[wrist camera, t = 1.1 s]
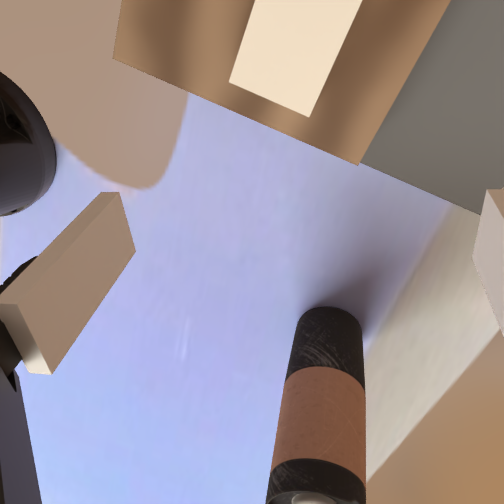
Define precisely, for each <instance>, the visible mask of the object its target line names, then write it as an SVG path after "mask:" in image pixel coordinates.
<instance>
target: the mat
mask: <svg viewBox="0 0 504 504" xmlns="http://www.w3.org/2000/svg"><path fill="white" fill-rule="evenodd" d="M360 163H363V164H365V165H367V166H369V167H372V168H374V169H376V170H379V171H381V172H383V173H385V174H388V175H390V176H392V177H394V178H397V179H399V180H401V181H404V182H406V183H408V184H410V185H413V186H415V187H417V188H420V189H422V190H424V191H426V192H429V193H431V194H433V195H436V196H438V197H440V198H442V199H445V200H447V201H449V202H452V203H454V204H456V205H458V206H461V207H463V208H465V209H468V210H470V211H472V212H474V213H477V214H479V215H481V213H482V209H483V204H484V199H485V195H486V190H487V189H502V188H503V186H504V0H451V1H450V3H449V5H448V6H447V8H446V10H445V12H444V14H443V15H442V17H441V19H440V21H439V22H438V24H437V26H436V28H435V30H434V31H433V33H432V35H431V37H430V38H429V40H428V42H427V44H426V46H425V47H424V49H423V51H422V53H421V54H420V56H419V58H418V60H417V62H416V63H415V65H414V67H413V69H412V70H411V72H410V74H409V76H408V78H407V79H406V81H405V83H404V85H403V86H402V88H401V90H400V92H399V93H398V95H397V97H396V99H395V101H394V102H393V104H392V106H391V108H390V109H389V111H388V113H387V115H386V117H385V118H384V120H383V122H382V124H381V125H380V127H379V129H378V131H377V133H376V134H375V136H374V138H373V140H372V141H371V143H370V145H369V147H368V149H367V150H366V152H365V154H364V156H363V157H362V159H361V161H360Z"/></svg>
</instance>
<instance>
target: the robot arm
mask: <svg viewBox="0 0 504 504" xmlns="http://www.w3.org/2000/svg"><path fill="white" fill-rule="evenodd" d="M55 168H56V157H55V149H54V145H53V141H52V138H51V135H50V132H49V130H48V127H47V125H46V123H45V121H44V119H43V117H42V116H41V114H40V112H39V111H38V109H37V108H36V106H35V105H34V104H33V102H32V101H31V100H30V99H29V97H28V96H27V95H26V94H25V93H24V92H23V90H22V89H21V88H19V87H18V86H17V85H16V84H15V83H14V82H13V81H12V80H11V79H9V78H8V77H7V76H6V75H4V74H2V73H1V72H0V216H7V215H12V214H15V213H18V212H21V211H22V210H24V209H26V208H28V207H29V206H31V205H32V204H33V203H34V202H36V201H37V200H38V199H40V198H41V197H42V196H43V195H44V194H45V193H46V192H47V191H48V189H49V187H50V186H51V184H52V181H53V178H54V175H55ZM135 252H136V250H135V246H134V243H133V239H132V236H131V232H130V229H129V225H128V222H127V218H126V215H125V211H124V207H123V204H122V200H121V197H120V193H119V192H101V193H100V194H99V195H98V196H97V197H96V198H95V199H94V200H93V201H92V202H91V203H90V204H89V205H88V206H87V207H86V208H85V209H84V210H83V211H82V212H81V213H80V214H79V215H78V216H77V217H76V218H75V219H74V220H73V221H72V222H71V223H70V224H69V225H68V226H67V227H66V228H65V229H64V230H63V231H62V232H61V233H60V234H59V235H58V236H57V237H56V238H55V239H54V241H53V242H52V243H51V244H50V245H49V246H48V247H47V248H46V249H45V250H44V251H43V252H42V253H41V254H40V255H39V256H35V257H33V258H32V259H30V260H28V261H27V262H25V263H23V264H22V265H21V266H20V267H18V268H17V269H16V270H15V271H14V272H13V273H12V274H11V277H8V278H7V279H6V280H5V281H4V282H3V285H0V504H42V501H41V496H40V490H39V485H38V479H37V474H36V468H35V463H34V457H33V452H32V446H31V441H30V436H29V430H28V425H27V419H26V414H25V408H24V403H23V397H22V392H21V386H20V381H19V376H18V375H17V373H16V371H15V367H16V366H17V365H18V363H19V362H20V361H21V360H23V362H24V364H25V366H26V368H27V370H28V372H29V373H37V374H49V375H52V374H53V372H54V371H55V369H56V368H57V366H58V365H59V364H60V362H61V361H62V359H63V358H64V356H65V355H66V353H67V352H68V350H69V349H70V347H71V346H72V344H73V343H74V342H75V340H76V339H77V337H78V336H79V334H80V333H81V331H82V330H83V328H84V327H85V325H86V324H87V322H88V321H89V320H90V318H91V317H92V315H93V314H94V312H95V311H96V309H97V308H98V306H99V305H100V303H101V302H102V300H103V299H104V298H105V296H106V295H107V293H108V292H109V290H110V289H111V287H112V286H113V284H114V283H115V281H116V280H117V278H118V277H119V275H120V274H121V273H122V271H123V270H124V268H125V267H126V265H127V264H128V262H129V261H130V259H131V258H132V256H133V255H134V253H135ZM472 260H473V262H474V265H475V267H476V270H477V272H478V274H479V277H480V279H481V282H482V284H483V287H484V289H485V292H486V294H487V297H488V299H489V302H490V304H491V307H492V309H493V312H494V314H495V317H496V319H497V322H498V324H499V326H500V329H501V331H502V334H503V336H504V189H487V190H486V195H485V199H484V204H483V209H482V213H481V218H480V222H479V227H478V232H477V236H476V241H475V246H474V250H473V255H472Z"/></svg>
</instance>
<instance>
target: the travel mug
mask: <svg viewBox="0 0 504 504" xmlns="http://www.w3.org/2000/svg"><path fill="white" fill-rule="evenodd" d="M266 504H366V397H365V377H364V359H363V341H362V331H361V327H360V325H359V323H358V321H357V320H356V319H355V318H354V317H353V316H352V315H351V314H349V313H348V312H346V311H344V310H341V309H338V308H334V307H319V308H315V309H312V310H310V311H308V312H306V313H305V314H304V315H303V316H302V317H301V318H300V319H299V321H298V324H297V327H296V331H295V336H294V340H293V345H292V350H291V355H290V359H289V364H288V369H287V374H286V378H285V383H284V389H283V395H282V401H281V408H280V414H279V420H278V427H277V433H276V439H275V446H274V452H273V458H272V465H271V471H270V477H269V484H268V490H267V496H266Z"/></svg>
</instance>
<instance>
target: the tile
mask: <svg viewBox="0 0 504 504" xmlns="http://www.w3.org/2000/svg"><path fill="white" fill-rule="evenodd" d="M361 2H362V0H255V2H254V5H253V8H252V12H251V15H250V18H249V21H248V24H247V27H246V30H245V33H244V36H243V39H242V42H241V45H240V49H239V52H238V55H237V58H236V61H235V64H234V67H233V70H232V73H231V76H230V79H229V82H230V83H232V84H234V85H237V86H239V87H241V88H243V89H246V90H248V91H250V92H252V93H255V94H257V95H259V96H262V97H264V98H266V99H268V100H271V101H273V102H275V103H277V104H280V105H282V106H284V107H287V108H289V109H291V110H293V111H296V112H298V113H300V114H302V115H305V116H307V117H310V114H311V112H312V110H313V108H314V106H315V103H316V101H317V99H318V97H319V95H320V92H321V90H322V88H323V86H324V84H325V81H326V79H327V77H328V75H329V73H330V70H331V68H332V66H333V64H334V62H335V59H336V57H337V55H338V53H339V51H340V48H341V46H342V44H343V42H344V40H345V37H346V35H347V33H348V31H349V29H350V26H351V24H352V22H353V20H354V18H355V15H356V13H357V11H358V9H359V7H360V4H361Z"/></svg>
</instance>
